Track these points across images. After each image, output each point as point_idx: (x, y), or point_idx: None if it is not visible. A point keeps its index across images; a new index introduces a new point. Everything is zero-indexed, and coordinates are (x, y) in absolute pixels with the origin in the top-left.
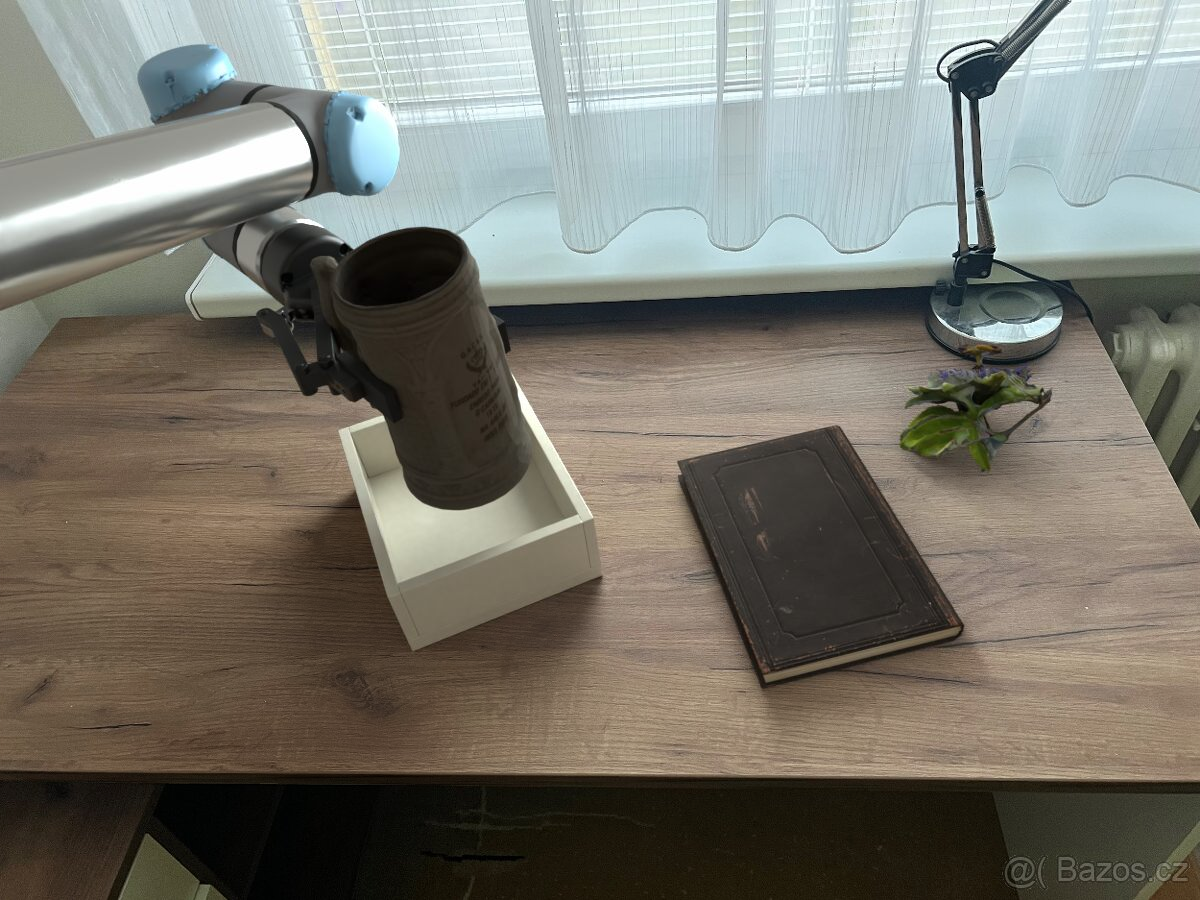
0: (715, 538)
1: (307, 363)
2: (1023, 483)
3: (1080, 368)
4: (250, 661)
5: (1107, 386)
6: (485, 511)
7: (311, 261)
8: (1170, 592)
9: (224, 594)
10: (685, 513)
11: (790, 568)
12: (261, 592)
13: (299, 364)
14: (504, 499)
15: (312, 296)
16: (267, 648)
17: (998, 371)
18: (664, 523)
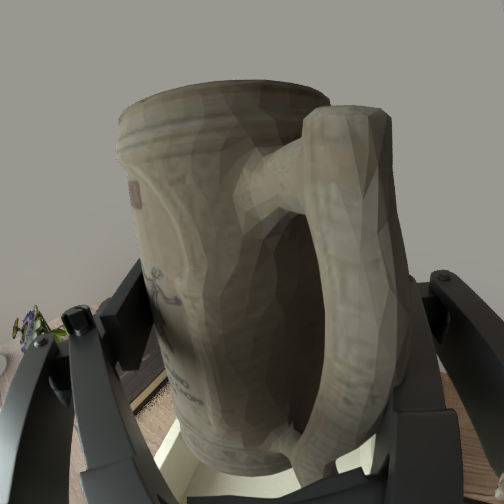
0: (158, 369)
1: (431, 277)
2: (66, 336)
3: (7, 346)
4: (472, 431)
5: (15, 339)
6: (257, 483)
7: (384, 112)
8: (99, 304)
9: (497, 486)
10: (145, 409)
11: (153, 343)
12: (470, 485)
13: (443, 271)
14: (234, 485)
15: (458, 469)
16: (462, 439)
17: (31, 313)
18: (160, 412)
